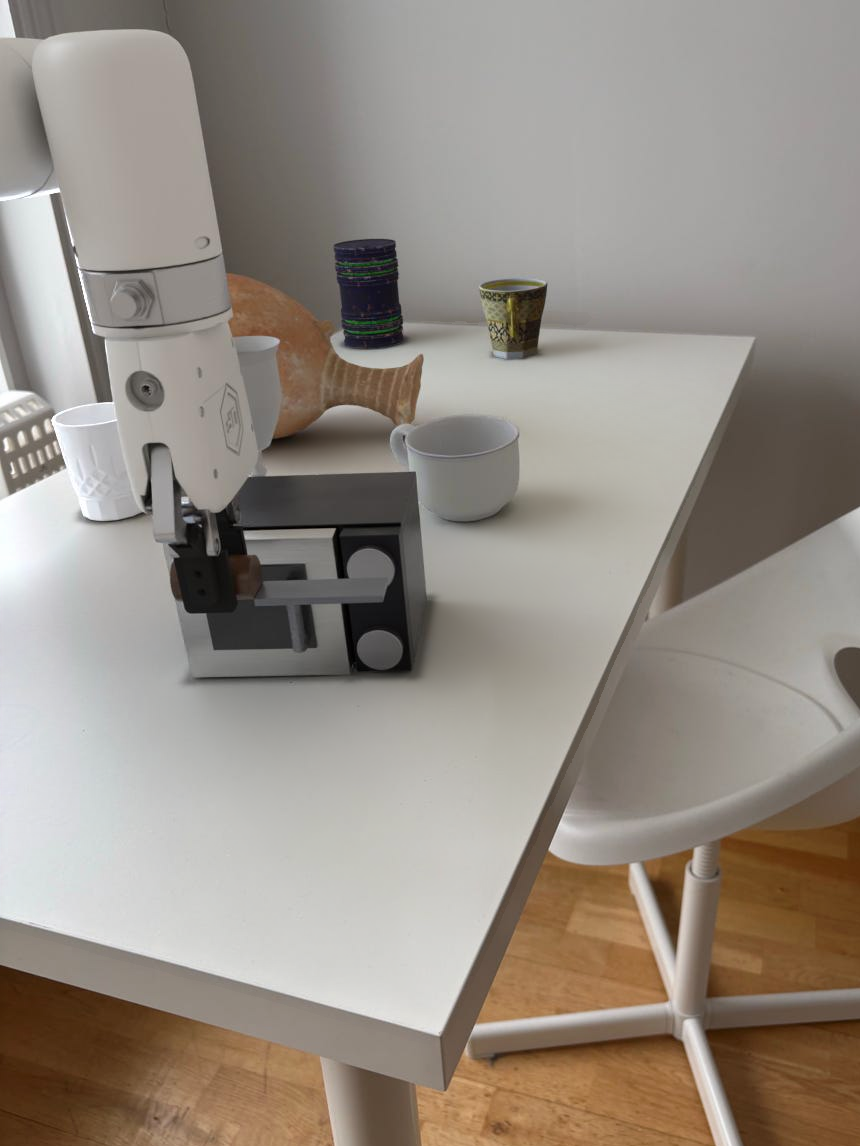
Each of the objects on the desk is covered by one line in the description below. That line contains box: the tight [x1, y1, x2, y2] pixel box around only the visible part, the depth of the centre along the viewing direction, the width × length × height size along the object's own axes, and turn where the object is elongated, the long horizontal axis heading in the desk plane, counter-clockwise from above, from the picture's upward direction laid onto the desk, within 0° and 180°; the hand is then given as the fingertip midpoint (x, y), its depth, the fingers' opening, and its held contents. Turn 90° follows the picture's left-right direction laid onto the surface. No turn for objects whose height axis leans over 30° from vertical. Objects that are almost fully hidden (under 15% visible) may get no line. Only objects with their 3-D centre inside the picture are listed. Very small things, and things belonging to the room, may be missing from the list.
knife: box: [169, 555, 388, 606], centre depth 63 cm, size 13×3×3 cm, turn 87°
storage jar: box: [333, 238, 405, 350], centre depth 160 cm, size 10×10×15 cm
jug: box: [226, 272, 425, 440], centre depth 118 cm, size 20×19×30 cm
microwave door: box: [161, 528, 355, 678], centre depth 70 cm, size 3×12×11 cm, turn 87°
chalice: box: [233, 336, 282, 477], centre depth 90 cm, size 7×7×18 cm
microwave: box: [183, 471, 428, 673], centre depth 75 cm, size 12×16×11 cm
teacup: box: [389, 413, 521, 523], centre depth 98 cm, size 14×11×8 cm
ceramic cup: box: [478, 277, 548, 360], centre depth 148 cm, size 13×10×10 cm
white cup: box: [51, 401, 144, 522], centre depth 101 cm, size 8×8×10 cm
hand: (219, 595), depth 64 cm, fingers closed on knife, 2 cm apart
